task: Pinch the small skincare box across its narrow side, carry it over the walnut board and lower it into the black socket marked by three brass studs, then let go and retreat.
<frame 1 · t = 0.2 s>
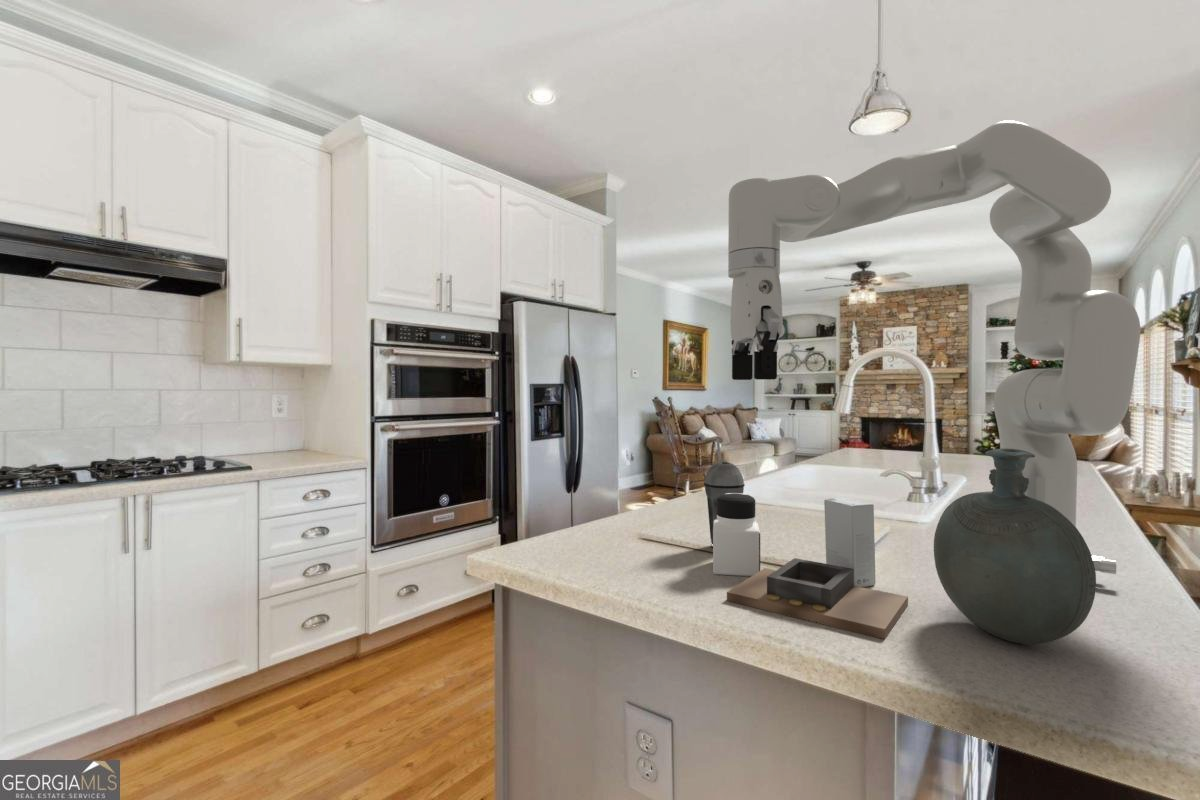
hand: (753, 379, 89), 30 cm above the counter, tool pointing down, fingers open, 9 cm apart
beverage cup: (724, 548, 106), on the counter
skincare box: (849, 582, 88), on the counter
medicine bottle: (735, 570, 94), on the counter
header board: (816, 603, 79), on the counter
flask: (1005, 637, 69), on the counter
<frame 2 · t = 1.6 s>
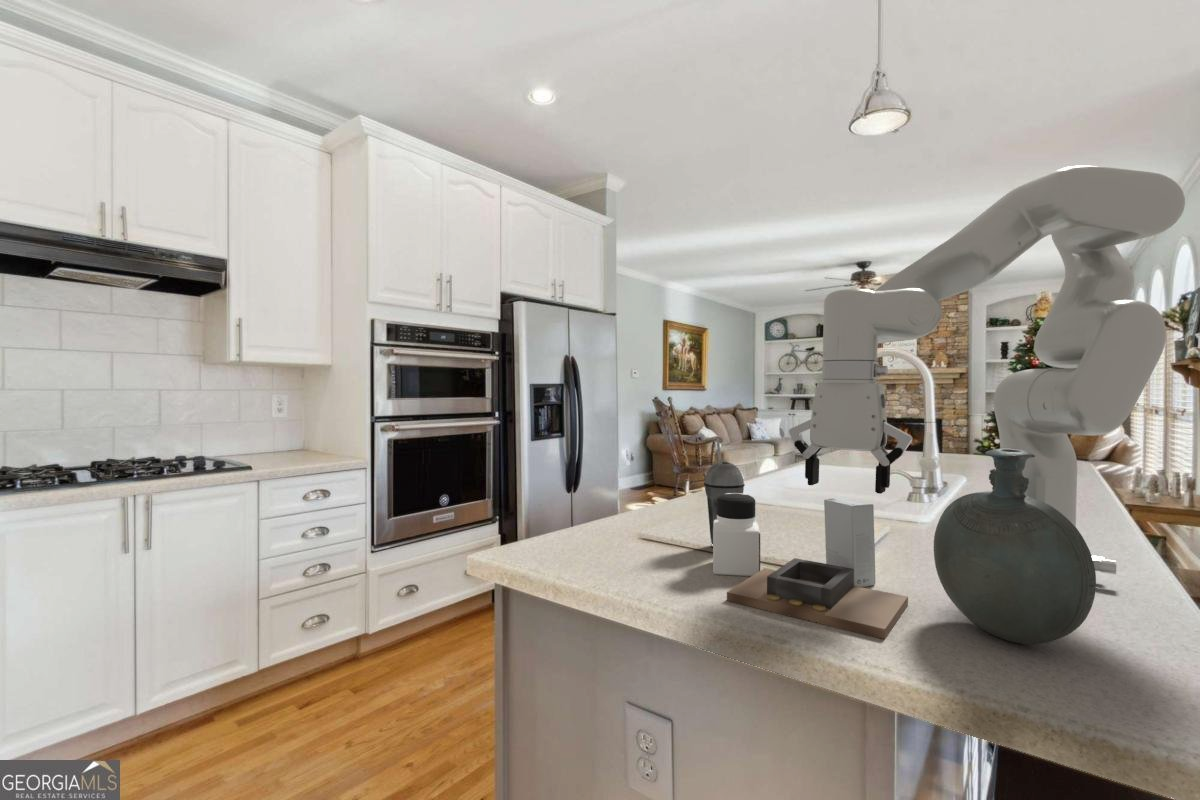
hand: (845, 488, 88), 14 cm above the counter, tool pointing down, fingers open, 9 cm apart
nothing on the counter moved.
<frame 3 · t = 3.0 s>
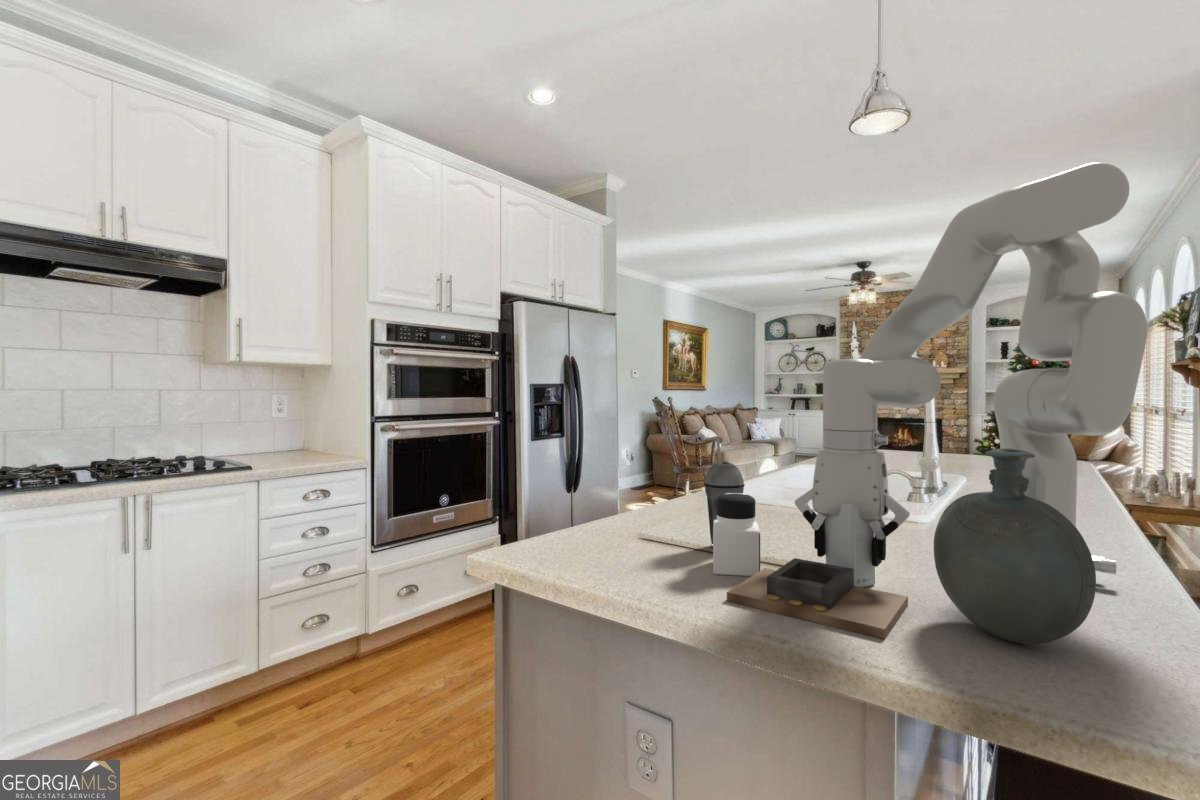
hand: (849, 558, 88), 3 cm above the counter, tool pointing down, fingers closed on skincare box, 7 cm apart
skincare box: (848, 582, 88), on the counter, touching gripper
everything else where it was.
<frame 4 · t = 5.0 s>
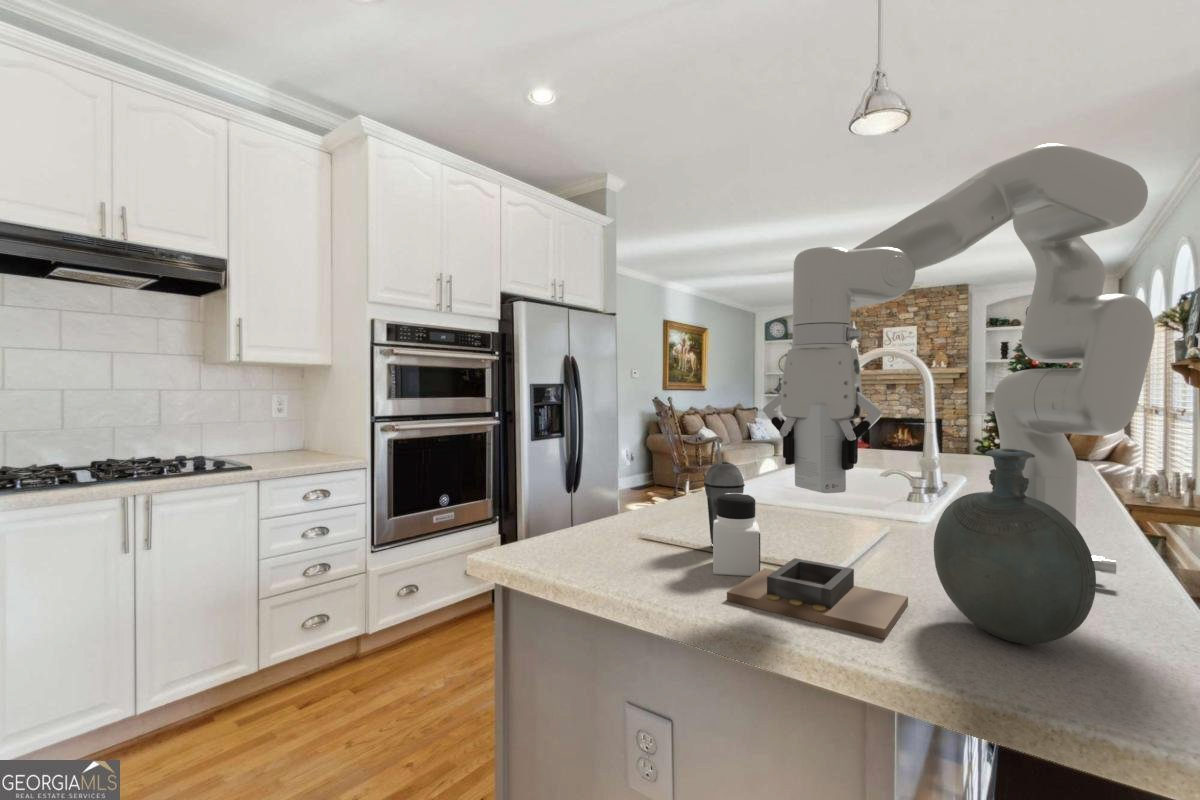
hand: (818, 465, 82), 18 cm above the counter, tool pointing down, fingers closed on skincare box, 7 cm apart
skincare box: (818, 490, 82), point 15 cm above the counter, touching gripper
everything else where it was.
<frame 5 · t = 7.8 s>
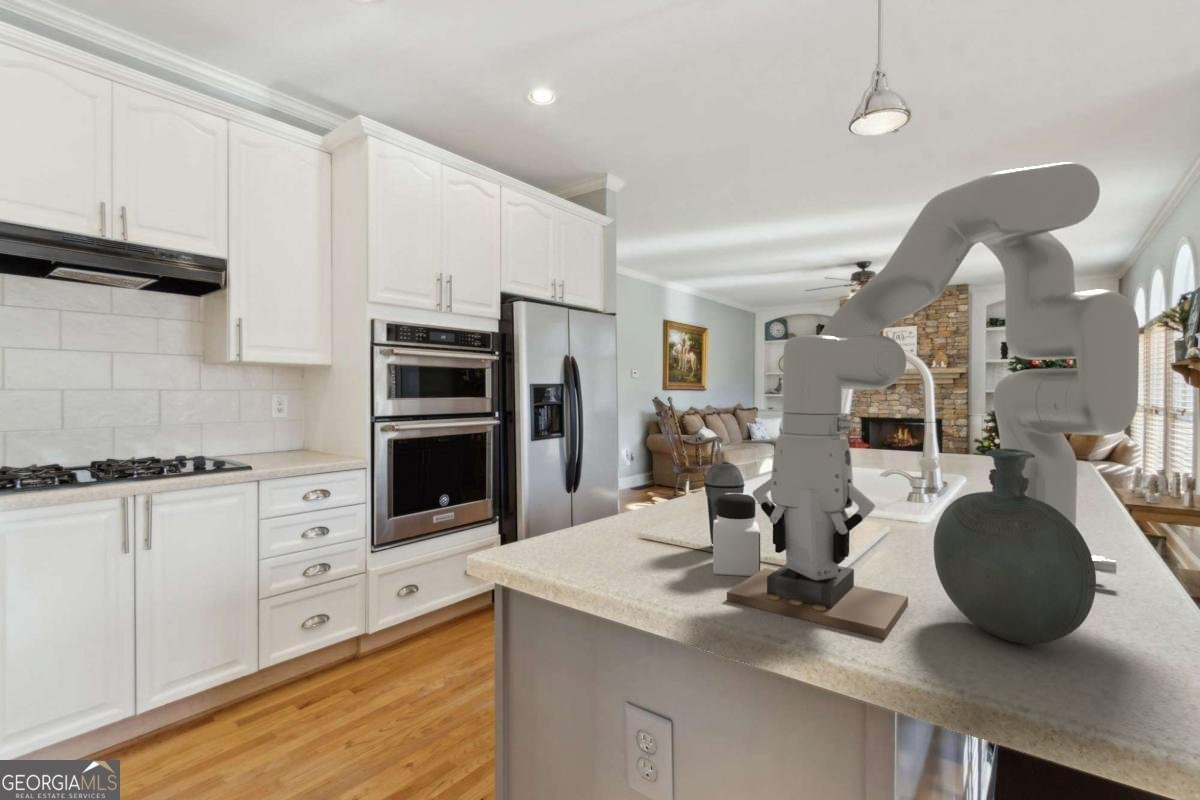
hand: (809, 554, 80), 6 cm above the counter, tool pointing down, fingers closed on skincare box, 7 cm apart
skincare box: (810, 573, 81), point 4 cm above the counter, touching gripper, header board
everything else where it was.
when the fingers open (6 cm above the counter, at t = 8.5 s): skincare box stays where it is, resting on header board.
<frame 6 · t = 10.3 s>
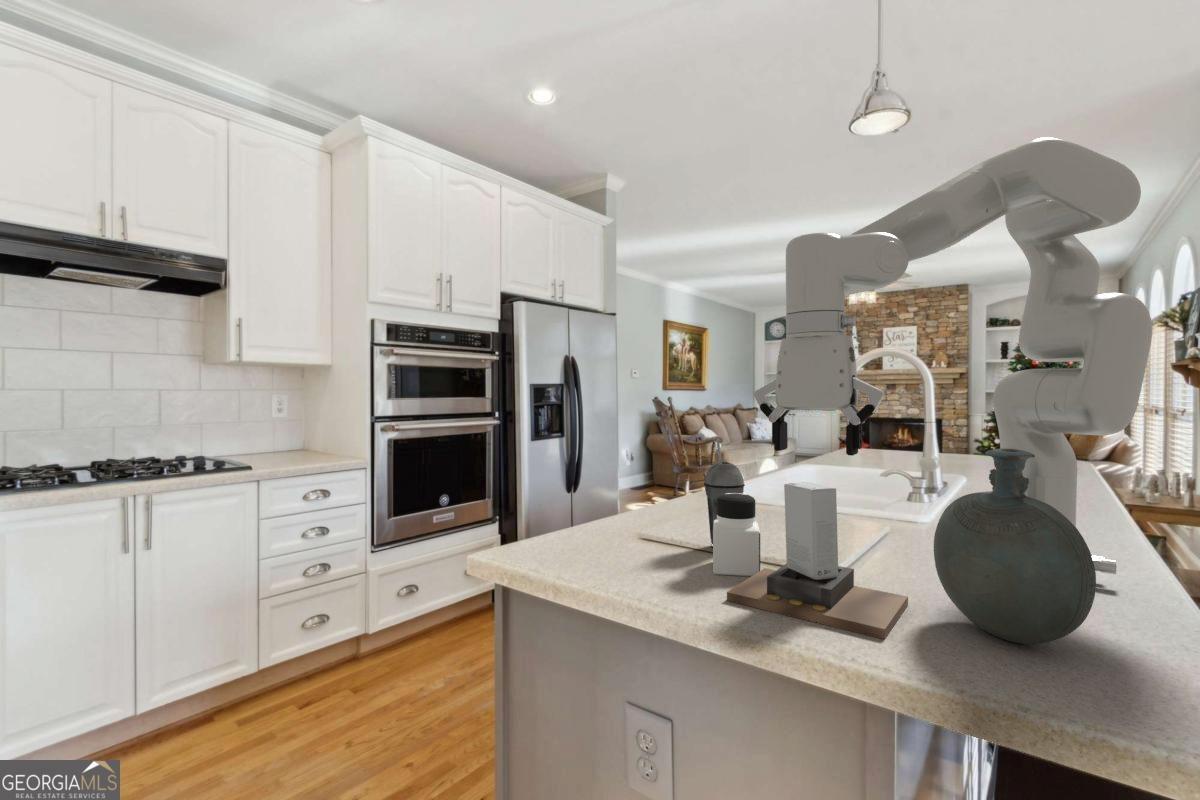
hand: (815, 452, 81), 20 cm above the counter, tool pointing down, fingers open, 9 cm apart
skincare box: (810, 574, 81), point 4 cm above the counter, touching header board
everything else where it was.
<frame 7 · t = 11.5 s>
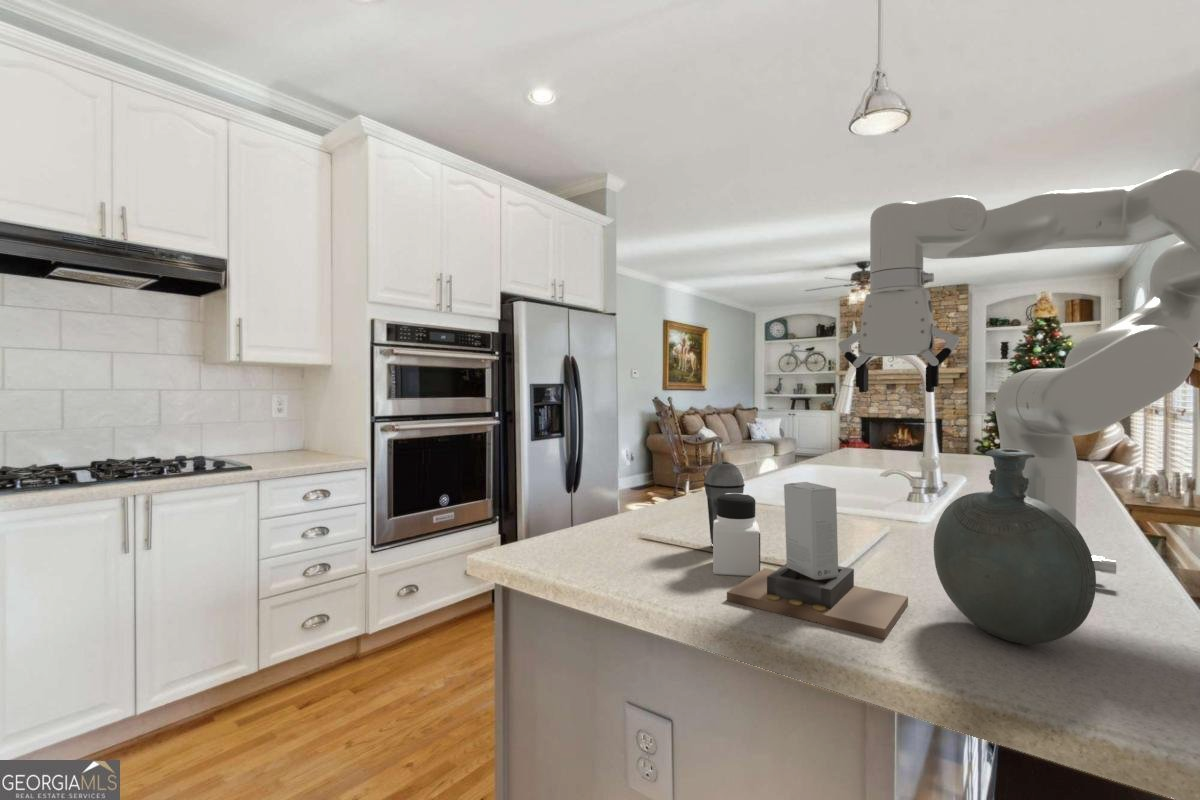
hand: (895, 392, 93), 28 cm above the counter, tool pointing down, fingers open, 9 cm apart
nothing on the counter moved.
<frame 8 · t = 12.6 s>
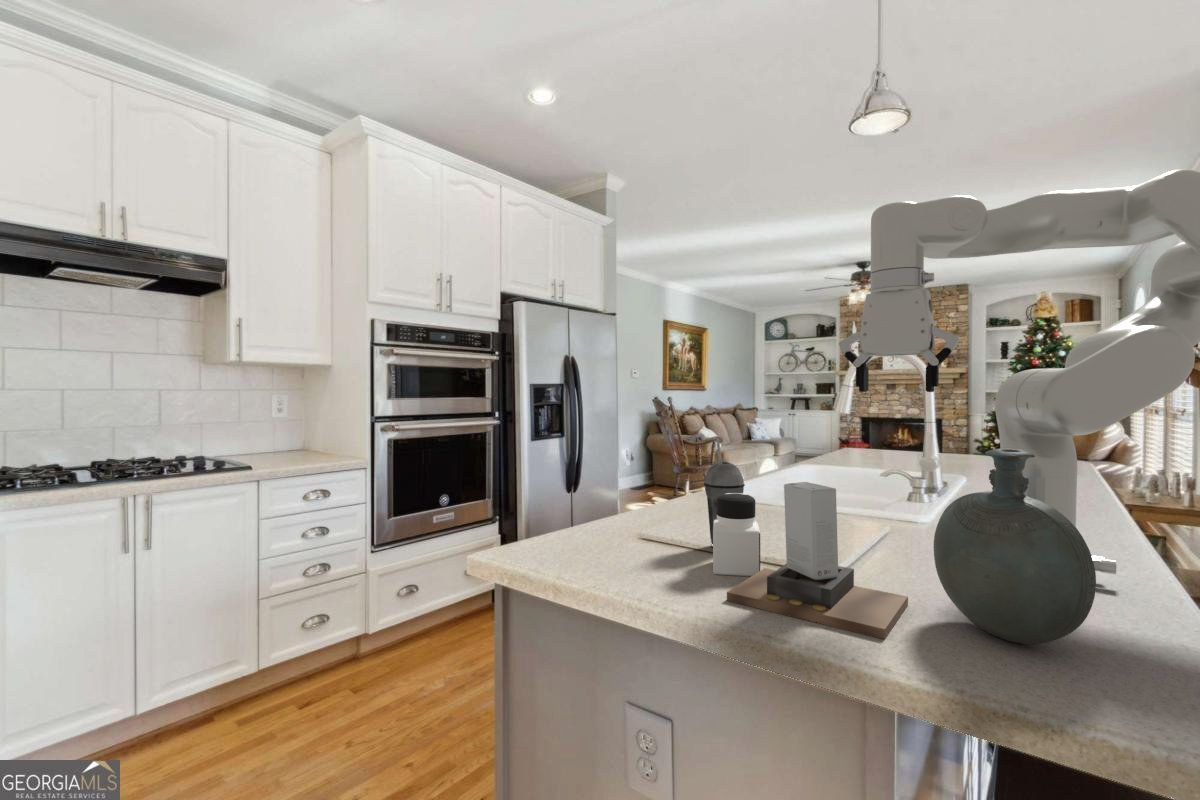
hand: (895, 391, 93), 28 cm above the counter, tool pointing down, fingers open, 9 cm apart
nothing on the counter moved.
at the end: skincare box 0.1 cm from the target spot on the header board, point 3.5 cm above the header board's base; skincare box tilted 0°; the gripper is holding nothing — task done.
